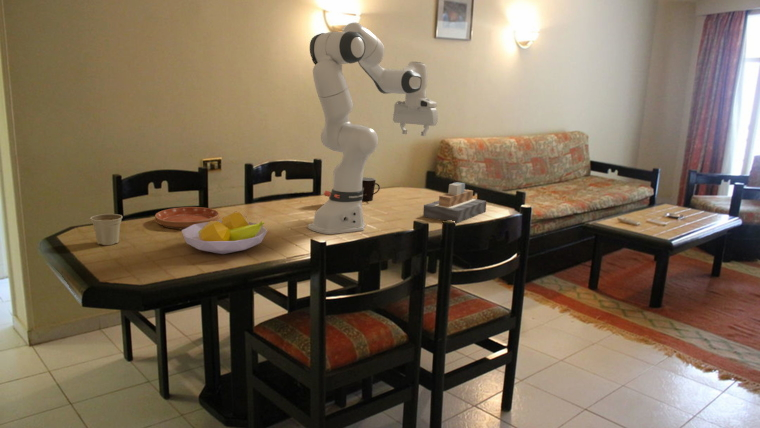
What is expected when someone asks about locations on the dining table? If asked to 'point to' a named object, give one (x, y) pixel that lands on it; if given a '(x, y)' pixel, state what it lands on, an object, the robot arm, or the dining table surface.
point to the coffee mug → (368, 188)
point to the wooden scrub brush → (455, 198)
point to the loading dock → (455, 210)
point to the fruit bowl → (225, 234)
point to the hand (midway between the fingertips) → (413, 135)
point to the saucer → (185, 217)
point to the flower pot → (107, 228)
